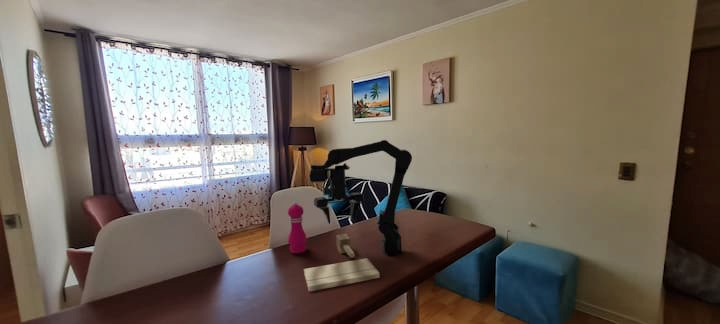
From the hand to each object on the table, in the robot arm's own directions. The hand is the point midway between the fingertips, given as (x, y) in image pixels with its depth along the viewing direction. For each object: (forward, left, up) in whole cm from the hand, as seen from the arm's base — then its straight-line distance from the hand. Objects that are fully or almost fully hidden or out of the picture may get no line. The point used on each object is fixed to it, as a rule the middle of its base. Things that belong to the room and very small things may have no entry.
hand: (340, 221), depth 110 cm
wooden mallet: (-1, +4, -12) cm, 13 cm away
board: (+5, +19, -12) cm, 23 cm away
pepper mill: (+16, -8, -12) cm, 22 cm away
